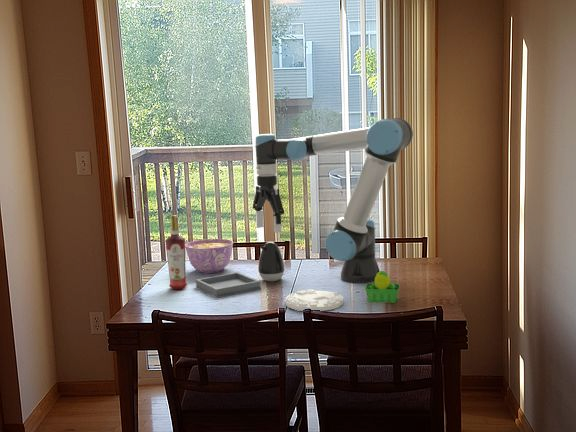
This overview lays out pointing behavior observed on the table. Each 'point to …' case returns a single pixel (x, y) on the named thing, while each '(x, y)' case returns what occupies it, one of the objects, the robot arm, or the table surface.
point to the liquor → (176, 257)
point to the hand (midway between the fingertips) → (268, 229)
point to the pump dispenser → (271, 262)
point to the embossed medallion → (314, 300)
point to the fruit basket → (382, 289)
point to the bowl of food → (209, 254)
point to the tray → (228, 284)
